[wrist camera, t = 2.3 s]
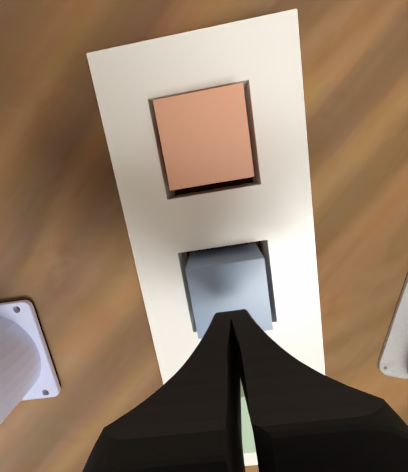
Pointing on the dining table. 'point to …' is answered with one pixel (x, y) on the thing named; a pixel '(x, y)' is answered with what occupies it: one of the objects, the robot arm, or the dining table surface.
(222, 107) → the terracotta button
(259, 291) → the slate-blue button
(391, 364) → the emergency button
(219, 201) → the button panel
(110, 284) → the dining table surface
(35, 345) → the robot arm
